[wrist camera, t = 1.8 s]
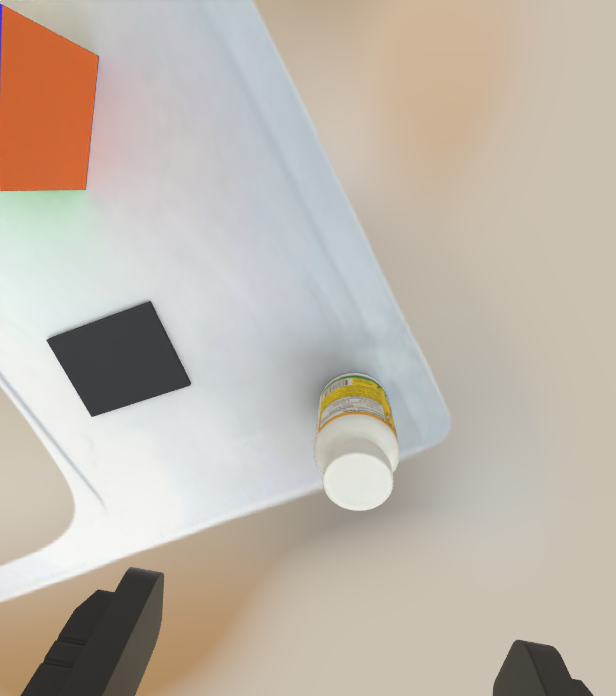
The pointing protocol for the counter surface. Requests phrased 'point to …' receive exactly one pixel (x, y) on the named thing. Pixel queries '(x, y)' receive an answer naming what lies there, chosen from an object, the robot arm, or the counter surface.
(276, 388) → the counter surface
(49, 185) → the cube
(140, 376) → the mat
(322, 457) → the supplement bottle
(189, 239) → the counter surface
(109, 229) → the counter surface
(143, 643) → the robot arm
